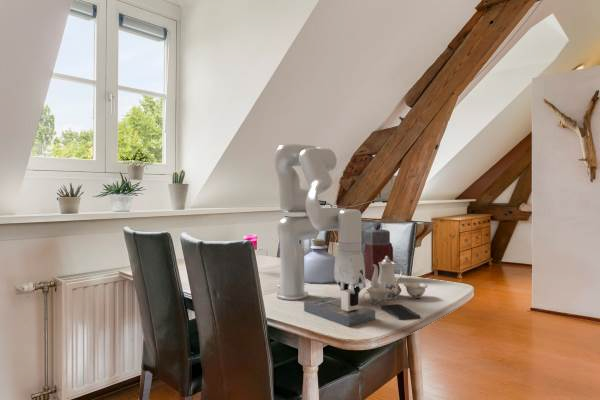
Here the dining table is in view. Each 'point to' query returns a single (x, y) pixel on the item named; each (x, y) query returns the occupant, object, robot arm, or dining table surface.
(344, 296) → the fader tab
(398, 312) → the phone
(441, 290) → the dining table surface
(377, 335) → the dining table surface
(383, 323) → the dining table surface
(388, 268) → the chinaware
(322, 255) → the bottle
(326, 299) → the fader console
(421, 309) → the dining table surface
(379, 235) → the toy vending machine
